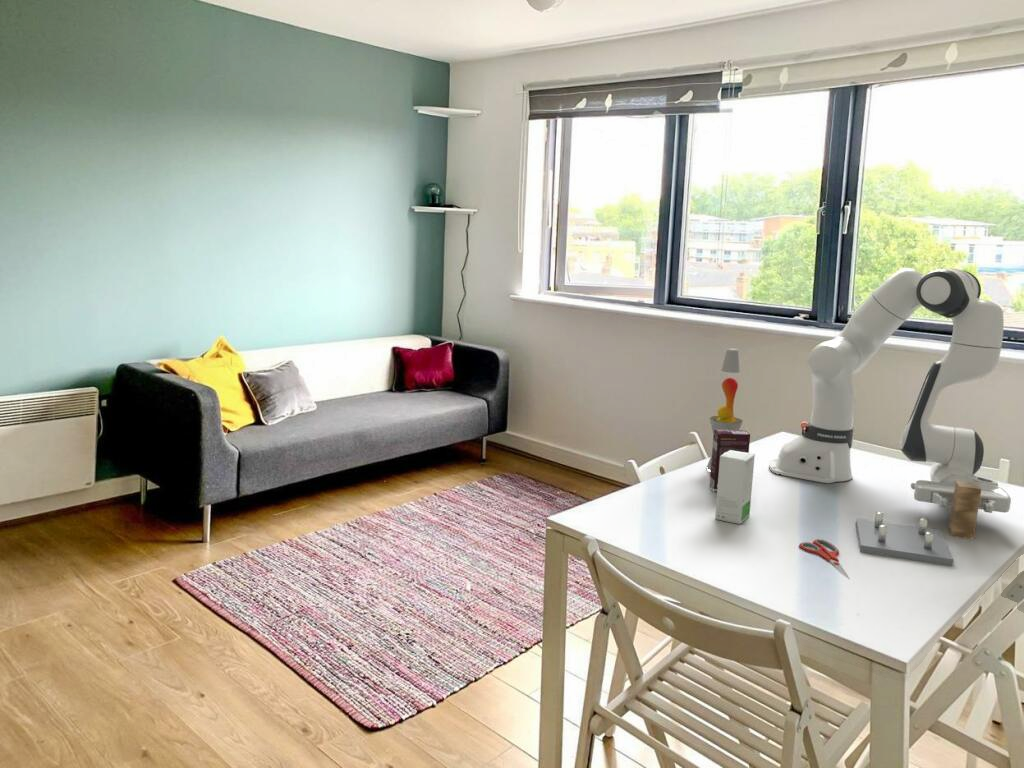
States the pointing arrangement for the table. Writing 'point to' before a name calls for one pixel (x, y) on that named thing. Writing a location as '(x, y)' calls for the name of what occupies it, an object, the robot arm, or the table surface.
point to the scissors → (825, 553)
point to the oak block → (964, 509)
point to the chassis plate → (902, 542)
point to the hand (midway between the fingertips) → (966, 506)
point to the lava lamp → (727, 397)
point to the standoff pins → (921, 531)
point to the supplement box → (726, 449)
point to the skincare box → (734, 486)
